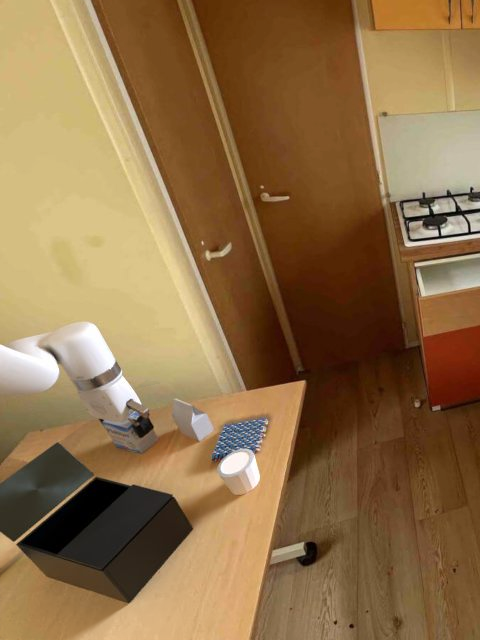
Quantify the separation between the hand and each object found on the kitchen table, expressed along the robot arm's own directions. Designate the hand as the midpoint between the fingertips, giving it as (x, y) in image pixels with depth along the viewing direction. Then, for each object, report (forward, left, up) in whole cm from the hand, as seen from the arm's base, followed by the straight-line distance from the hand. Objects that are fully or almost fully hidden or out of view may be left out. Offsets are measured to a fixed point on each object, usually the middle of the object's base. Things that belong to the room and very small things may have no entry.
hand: (130, 429), depth 99 cm
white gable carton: (+11, +6, -5) cm, 13 cm away
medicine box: (0, 0, -5) cm, 5 cm away
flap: (+10, -20, +10) cm, 25 cm away
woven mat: (+24, +6, -5) cm, 25 cm away
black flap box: (+21, -20, -5) cm, 29 cm away
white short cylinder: (+33, -3, -5) cm, 33 cm away
